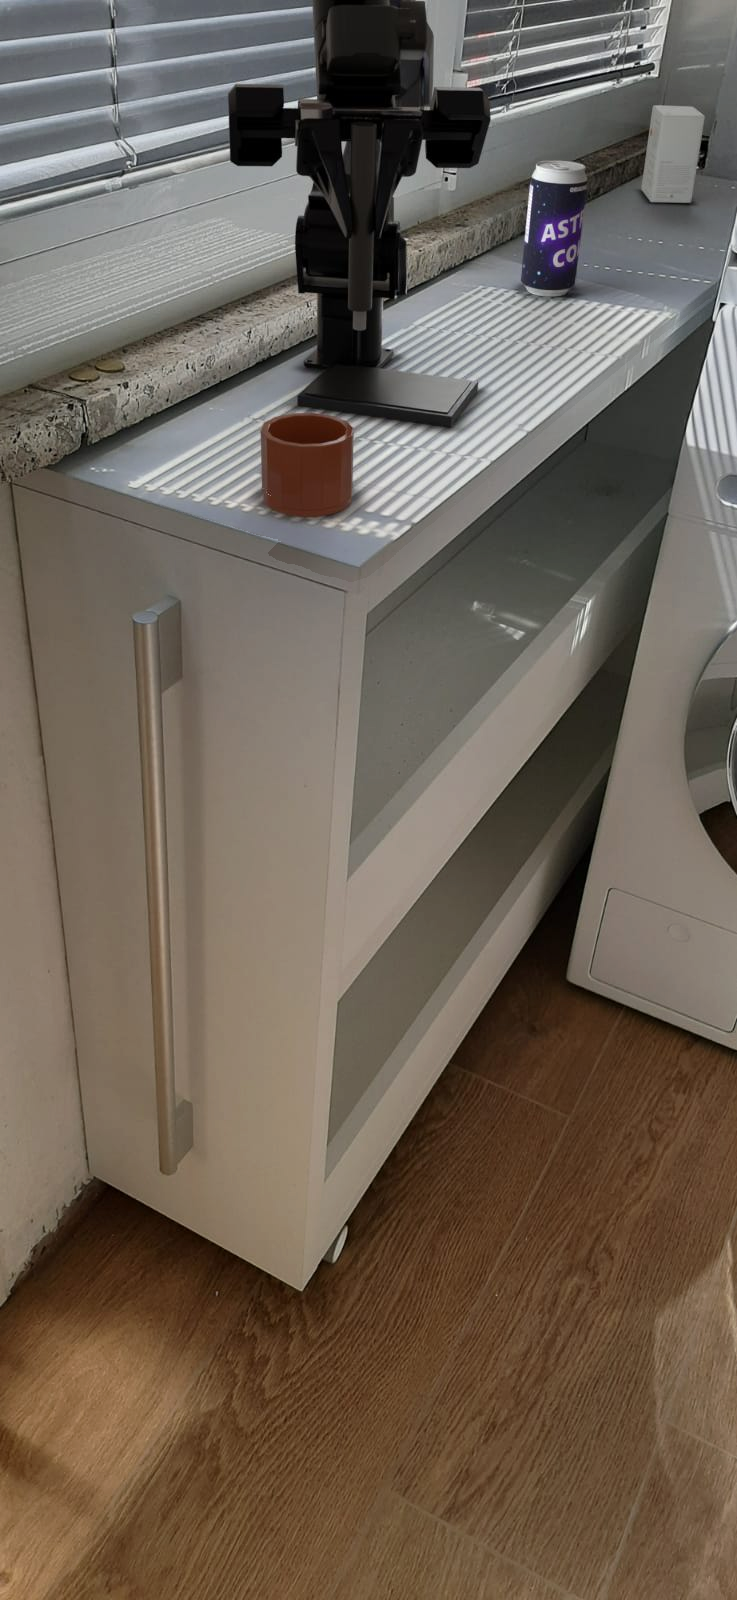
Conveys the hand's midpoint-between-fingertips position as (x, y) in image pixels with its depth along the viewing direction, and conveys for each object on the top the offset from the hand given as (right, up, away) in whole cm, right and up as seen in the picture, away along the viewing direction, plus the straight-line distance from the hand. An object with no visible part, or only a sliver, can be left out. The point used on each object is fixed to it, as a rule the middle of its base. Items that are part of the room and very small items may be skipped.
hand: (363, 235), depth 91 cm
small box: (+41, +41, +80) cm, 99 cm away
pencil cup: (-4, -20, -3) cm, 20 cm away
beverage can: (+19, +13, +42) cm, 47 cm away
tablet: (+2, -7, +14) cm, 16 cm away
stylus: (0, -5, +5) cm, 7 cm away
